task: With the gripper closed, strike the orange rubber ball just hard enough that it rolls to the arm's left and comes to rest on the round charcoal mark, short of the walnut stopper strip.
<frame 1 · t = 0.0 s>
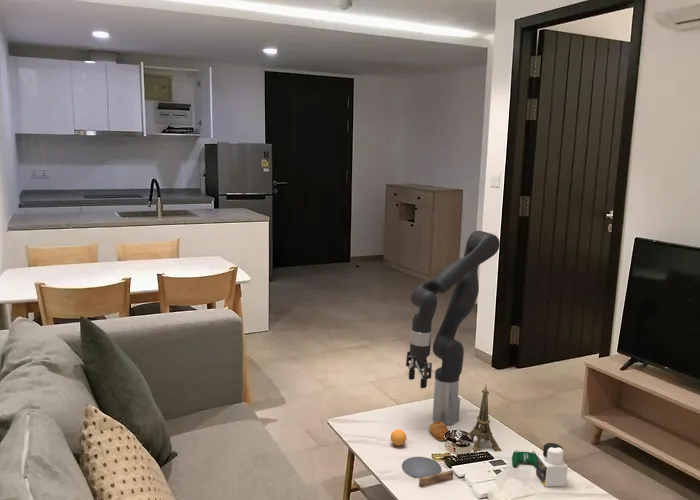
hand: (417, 383, 221), 17 cm above the table, tool pointing down, fingers open, 8 cm apart
medicine bottle: (550, 480, 190), on the table
pastry: (439, 435, 218), on the table
stopper strip: (436, 482, 188), on the table
eiffel tower: (481, 445, 212), on the table
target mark: (421, 467, 196), on the table
ball: (398, 437, 209), on the table
gaming controller: (525, 465, 200), on the table
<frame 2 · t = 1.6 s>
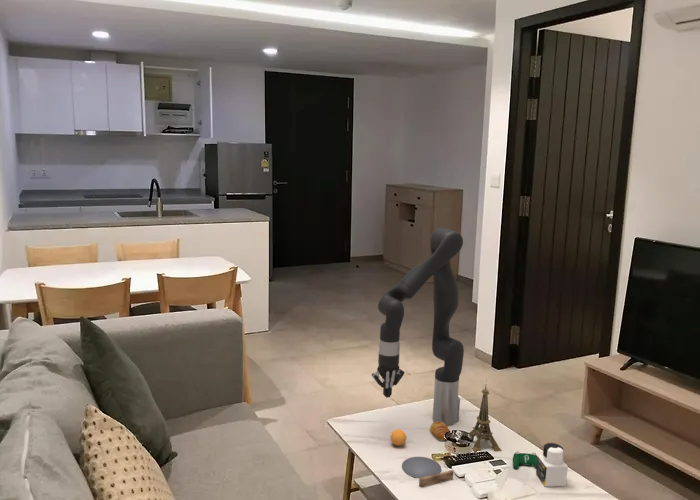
hand: (387, 396, 216), 14 cm above the table, tool pointing down, fingers closed
gaming controller: (525, 466, 199), on the table
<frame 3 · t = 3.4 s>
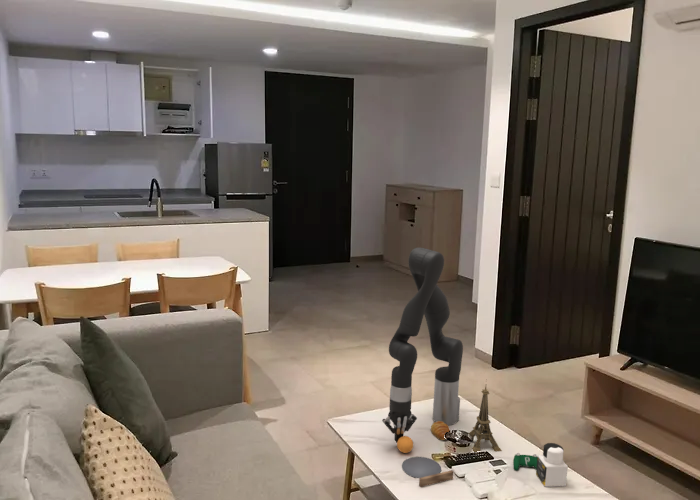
hand: (398, 442, 208), 2 cm above the table, tool pointing down, fingers closed
ball: (405, 444, 205), on the table
gaming controller: (526, 468, 198), on the table
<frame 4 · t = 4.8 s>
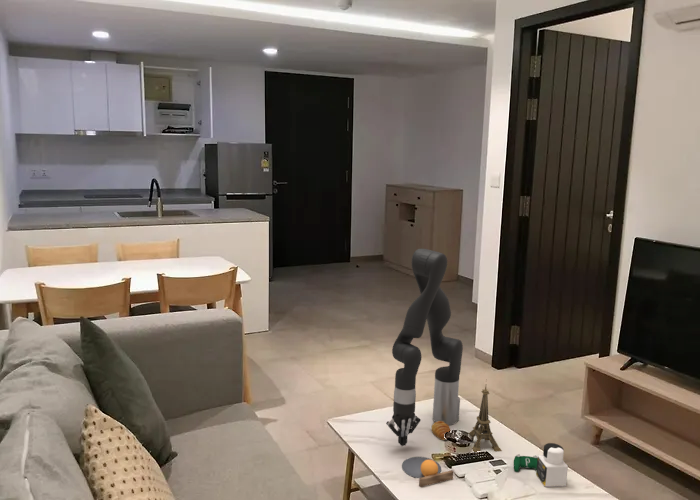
hand: (402, 444, 207), 1 cm above the table, tool pointing down, fingers closed
ball: (429, 468, 190), on the table
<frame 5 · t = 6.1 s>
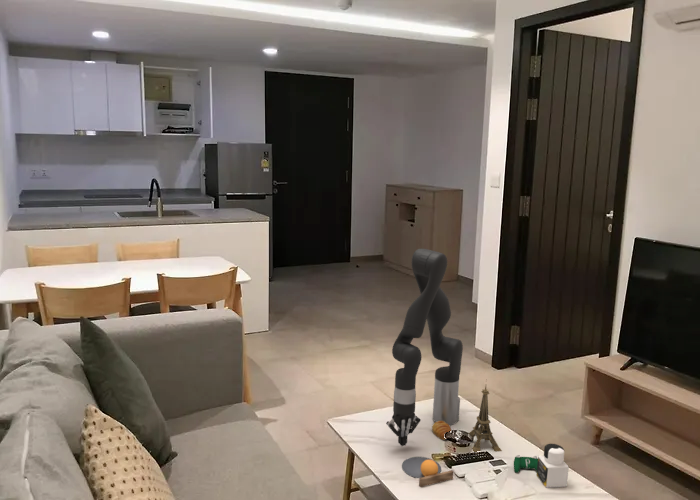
hand: (402, 444, 207), 1 cm above the table, tool pointing down, fingers closed
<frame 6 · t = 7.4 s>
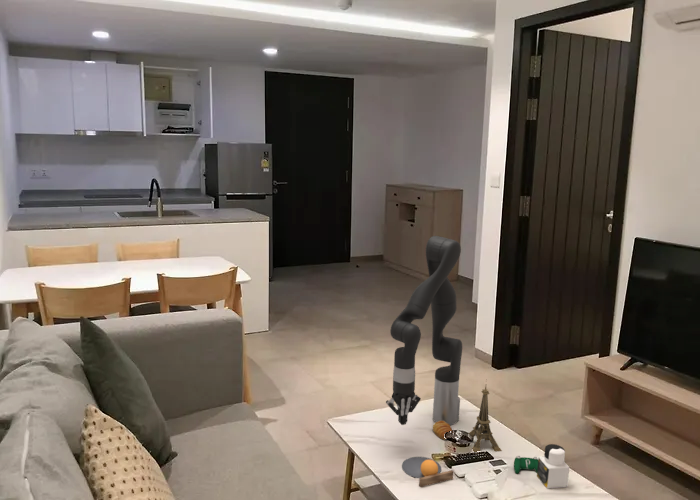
hand: (402, 423, 206), 9 cm above the table, tool pointing down, fingers closed
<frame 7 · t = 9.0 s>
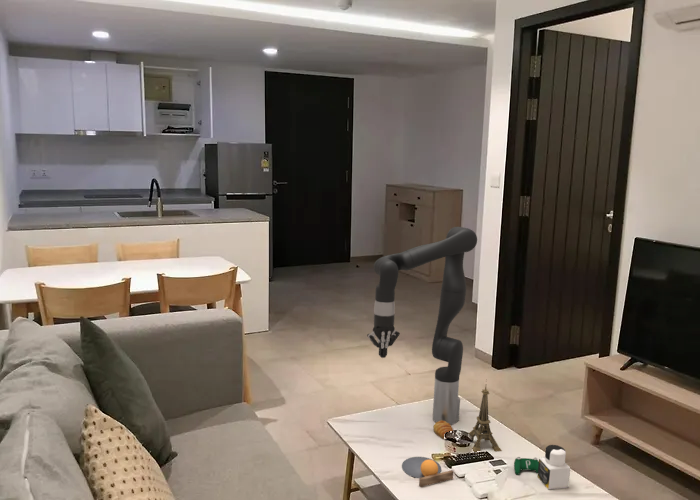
hand: (382, 356, 220), 27 cm above the table, tool pointing down, fingers closed
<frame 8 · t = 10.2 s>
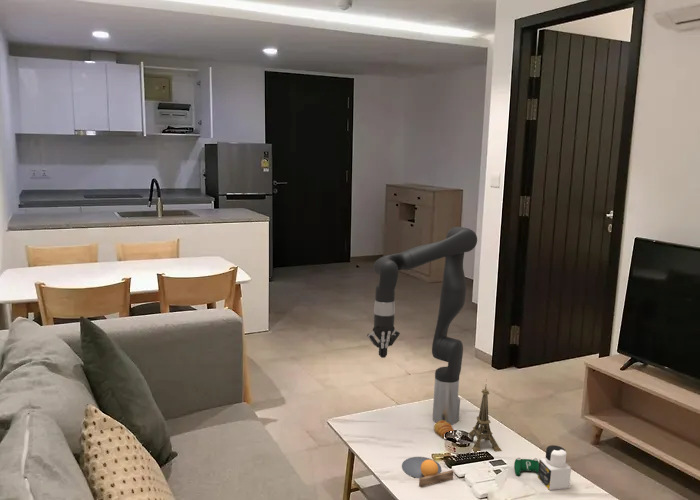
hand: (382, 356, 220), 27 cm above the table, tool pointing down, fingers closed
at the end: ball 5.5 cm from the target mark (horizontally); ball at rest at the end (0.0 cm/s); ball moved 21.5 cm from its start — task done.
